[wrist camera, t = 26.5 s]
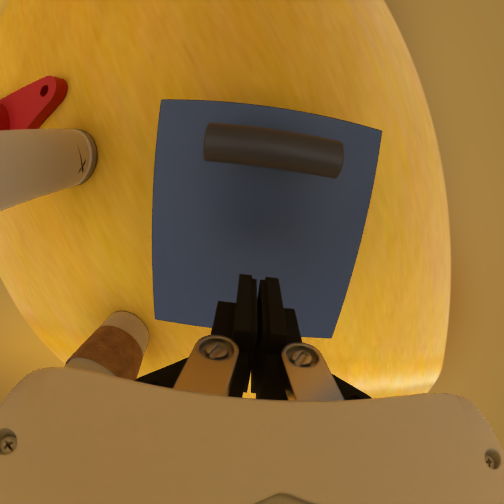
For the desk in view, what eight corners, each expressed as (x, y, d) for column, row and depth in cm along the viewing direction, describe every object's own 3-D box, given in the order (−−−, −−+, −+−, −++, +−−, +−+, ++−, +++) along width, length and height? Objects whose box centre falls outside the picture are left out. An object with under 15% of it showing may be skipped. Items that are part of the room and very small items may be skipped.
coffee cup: (131, 291, 30) (68, 381, 16) (171, 345, 33) (137, 444, 19) (88, 314, 31) (28, 391, 17) (126, 361, 34) (85, 445, 20)
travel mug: (109, 157, 25) (-59, 194, 6) (73, 196, 26) (-73, 264, 7) (82, 115, 23) (-77, 115, 4) (48, 156, 24) (-96, 192, 6)
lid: (164, 101, 15) (127, 86, 10) (377, 131, 16) (423, 129, 10) (157, 313, 21) (134, 361, 16) (329, 332, 21) (346, 382, 16)
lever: (-9, 181, 25) (-41, 191, 19) (-18, 125, 22) (-49, 128, 16) (73, 120, 23) (35, 118, 17) (63, 54, 20) (29, 42, 14)
